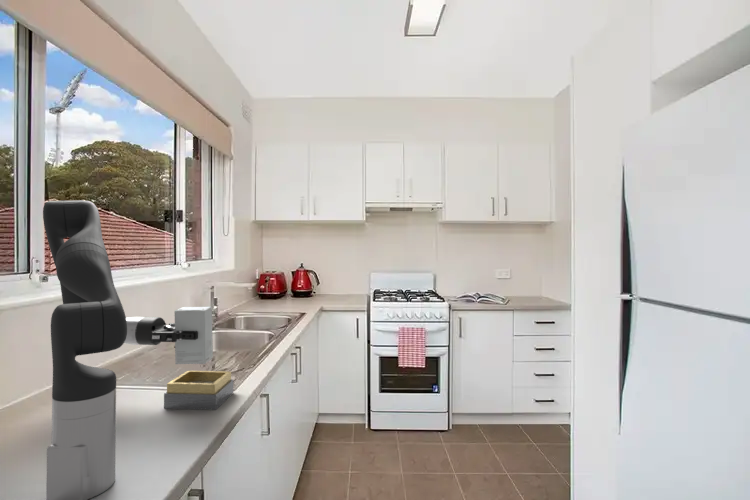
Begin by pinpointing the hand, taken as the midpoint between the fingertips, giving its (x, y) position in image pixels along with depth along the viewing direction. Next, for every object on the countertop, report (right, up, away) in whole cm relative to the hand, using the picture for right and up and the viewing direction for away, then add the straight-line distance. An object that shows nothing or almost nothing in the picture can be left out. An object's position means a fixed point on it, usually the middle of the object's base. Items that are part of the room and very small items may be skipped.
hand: (202, 332), depth 107 cm
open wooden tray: (-2, -20, +5) cm, 20 cm away
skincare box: (-3, -8, 0) cm, 9 cm away
